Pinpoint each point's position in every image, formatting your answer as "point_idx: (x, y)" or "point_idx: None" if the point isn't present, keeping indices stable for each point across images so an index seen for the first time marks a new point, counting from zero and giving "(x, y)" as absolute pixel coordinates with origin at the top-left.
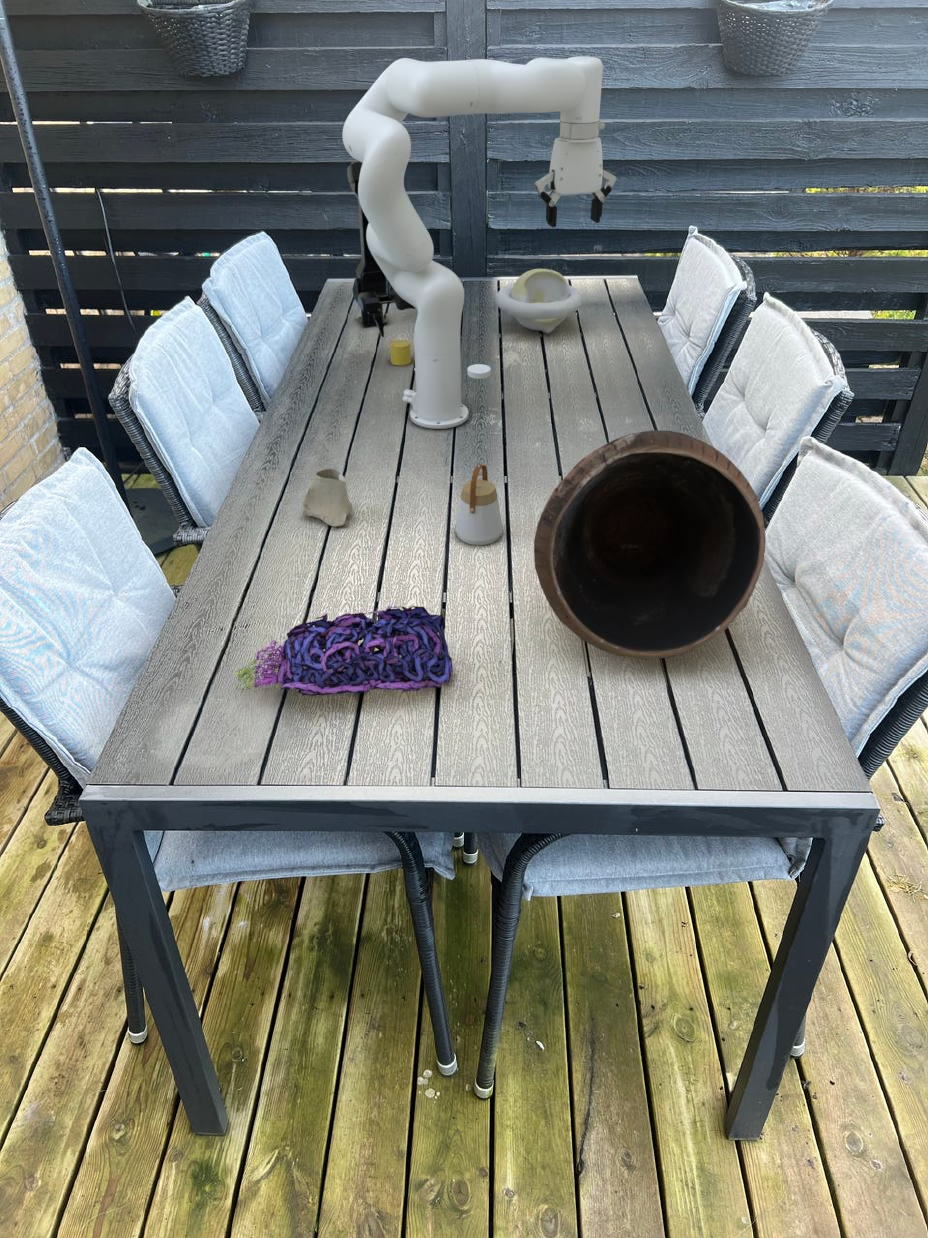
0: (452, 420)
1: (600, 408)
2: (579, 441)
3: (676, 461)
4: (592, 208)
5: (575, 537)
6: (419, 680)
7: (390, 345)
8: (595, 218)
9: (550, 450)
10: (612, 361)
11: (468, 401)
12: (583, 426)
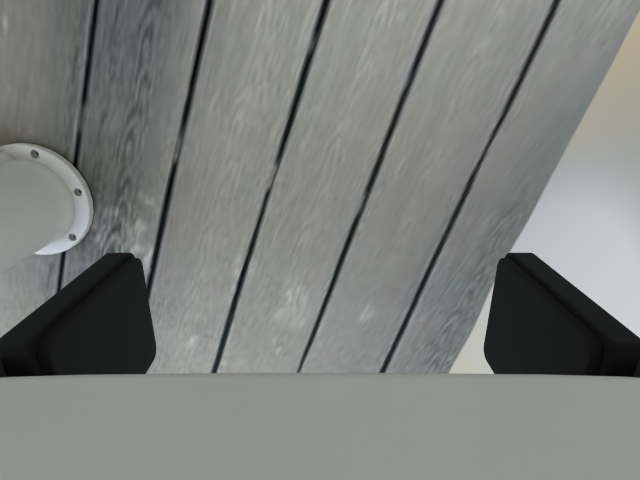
0: (54, 244)
1: (343, 258)
2: (259, 350)
3: None
4: (538, 323)
5: None
6: None
7: None
8: (493, 354)
9: (206, 361)
10: (486, 43)
11: (103, 149)
12: (285, 309)
